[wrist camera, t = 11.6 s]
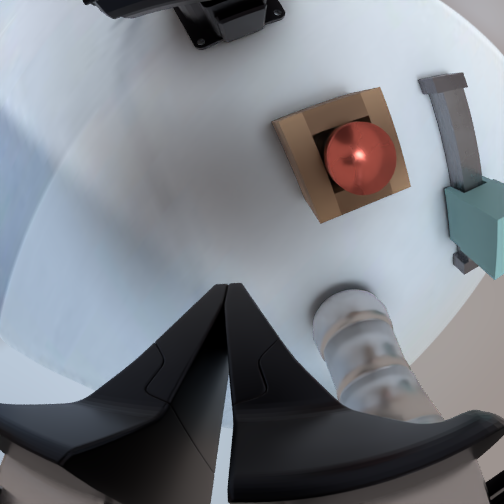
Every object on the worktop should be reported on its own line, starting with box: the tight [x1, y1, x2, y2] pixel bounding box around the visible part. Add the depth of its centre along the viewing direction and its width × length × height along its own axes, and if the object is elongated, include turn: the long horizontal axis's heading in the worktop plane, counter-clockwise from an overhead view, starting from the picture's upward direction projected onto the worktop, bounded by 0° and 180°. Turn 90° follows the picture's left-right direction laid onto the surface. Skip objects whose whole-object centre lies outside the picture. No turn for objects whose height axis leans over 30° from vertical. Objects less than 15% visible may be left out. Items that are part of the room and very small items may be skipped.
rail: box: [418, 73, 483, 274], centre depth 18 cm, size 17×4×2 cm, turn 25°
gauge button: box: [314, 121, 397, 195], centre depth 14 cm, size 4×4×6 cm
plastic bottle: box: [313, 289, 445, 424], centre depth 15 cm, size 6×7×20 cm
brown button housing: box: [272, 87, 411, 224], centre depth 16 cm, size 6×6×5 cm
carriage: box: [445, 176, 504, 280], centre depth 16 cm, size 5×5×7 cm
